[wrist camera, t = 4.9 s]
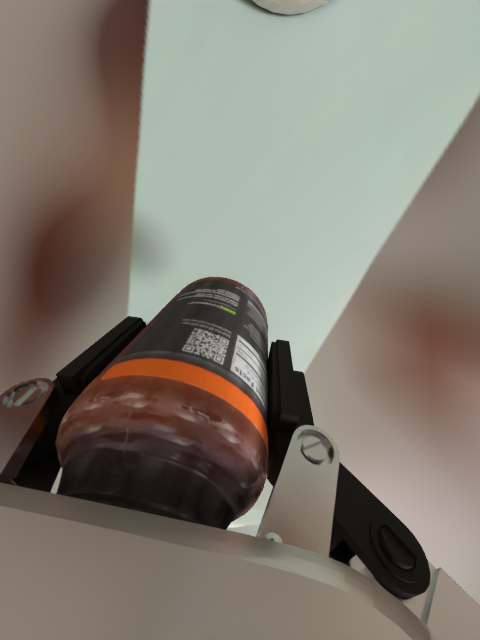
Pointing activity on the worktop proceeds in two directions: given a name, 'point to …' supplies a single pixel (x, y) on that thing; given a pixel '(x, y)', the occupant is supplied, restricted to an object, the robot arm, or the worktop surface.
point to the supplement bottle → (178, 413)
